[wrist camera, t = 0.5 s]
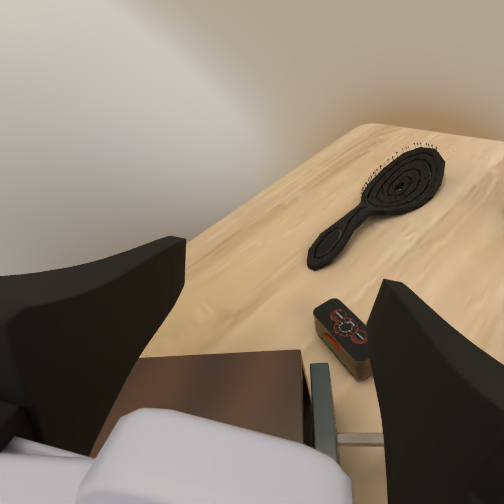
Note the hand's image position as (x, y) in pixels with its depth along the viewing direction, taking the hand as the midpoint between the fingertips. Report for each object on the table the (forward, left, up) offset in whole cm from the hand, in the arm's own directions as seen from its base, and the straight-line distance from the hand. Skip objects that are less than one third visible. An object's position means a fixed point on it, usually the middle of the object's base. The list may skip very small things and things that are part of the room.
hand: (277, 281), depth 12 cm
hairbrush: (+28, -9, -19) cm, 35 cm away
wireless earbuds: (+8, -4, -19) cm, 21 cm away
